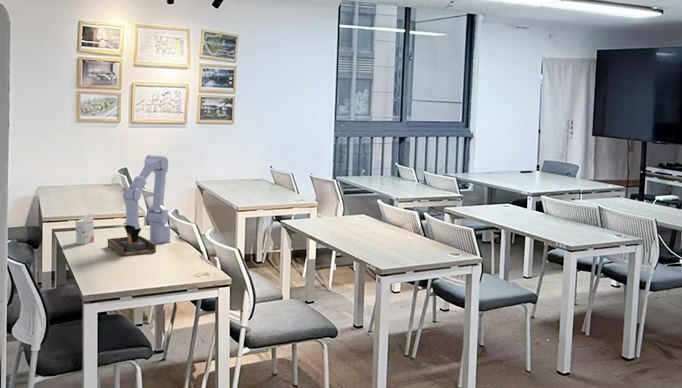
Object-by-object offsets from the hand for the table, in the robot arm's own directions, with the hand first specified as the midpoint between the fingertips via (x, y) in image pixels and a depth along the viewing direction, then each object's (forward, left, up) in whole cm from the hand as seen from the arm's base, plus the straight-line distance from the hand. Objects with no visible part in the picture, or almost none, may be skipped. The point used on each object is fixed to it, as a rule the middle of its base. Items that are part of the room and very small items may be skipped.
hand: (132, 241), depth 328 cm
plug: (0, 0, -4) cm, 4 cm away
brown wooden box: (0, -2, -5) cm, 5 cm away
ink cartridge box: (+15, -27, -5) cm, 31 cm away
